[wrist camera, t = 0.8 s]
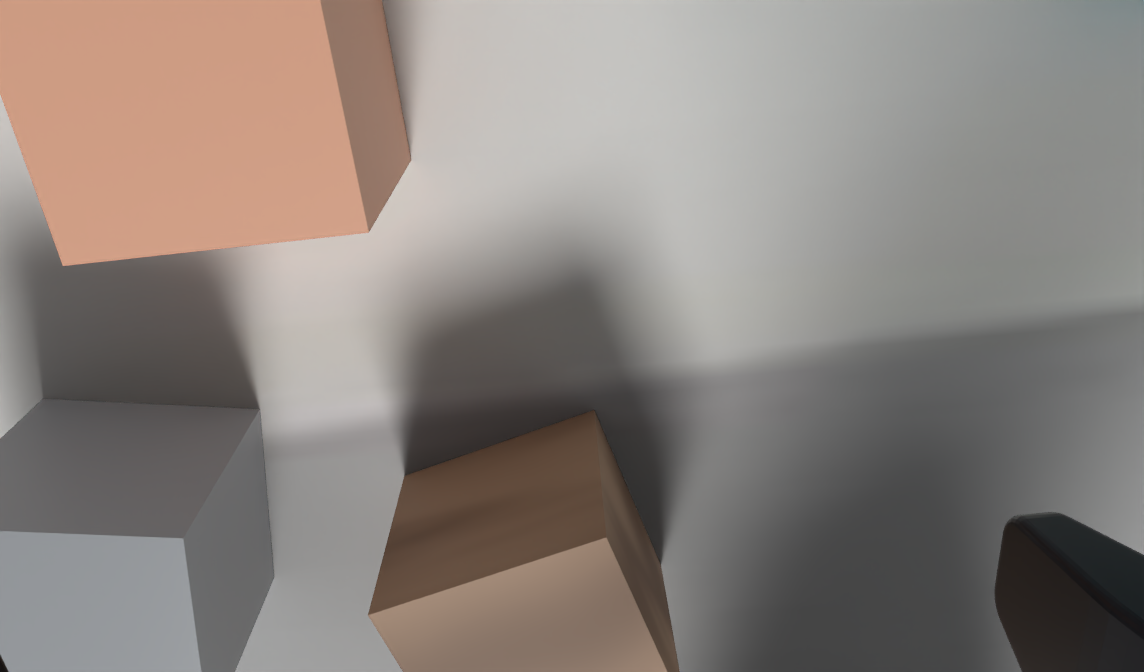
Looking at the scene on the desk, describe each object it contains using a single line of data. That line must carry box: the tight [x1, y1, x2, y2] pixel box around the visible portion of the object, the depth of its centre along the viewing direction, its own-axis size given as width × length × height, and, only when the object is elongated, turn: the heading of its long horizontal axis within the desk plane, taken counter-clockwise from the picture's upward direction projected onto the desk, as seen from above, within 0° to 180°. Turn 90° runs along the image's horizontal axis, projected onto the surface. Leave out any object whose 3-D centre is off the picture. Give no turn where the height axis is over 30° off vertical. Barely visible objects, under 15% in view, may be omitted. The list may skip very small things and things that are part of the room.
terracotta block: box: [0, 0, 411, 266], centre depth 16 cm, size 5×5×5 cm
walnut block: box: [368, 410, 680, 672], centre depth 21 cm, size 5×5×5 cm
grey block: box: [0, 399, 274, 672], centre depth 20 cm, size 5×5×5 cm
